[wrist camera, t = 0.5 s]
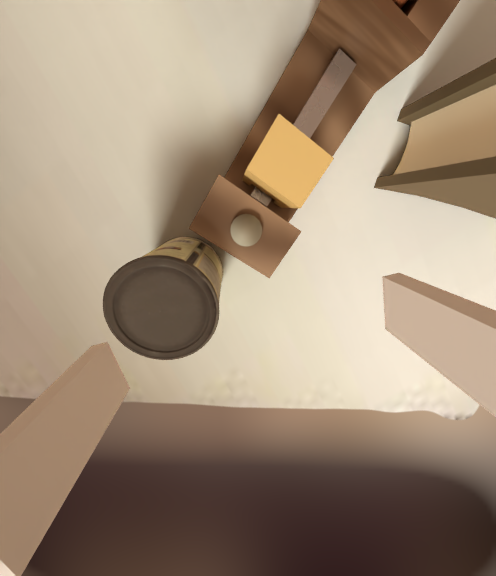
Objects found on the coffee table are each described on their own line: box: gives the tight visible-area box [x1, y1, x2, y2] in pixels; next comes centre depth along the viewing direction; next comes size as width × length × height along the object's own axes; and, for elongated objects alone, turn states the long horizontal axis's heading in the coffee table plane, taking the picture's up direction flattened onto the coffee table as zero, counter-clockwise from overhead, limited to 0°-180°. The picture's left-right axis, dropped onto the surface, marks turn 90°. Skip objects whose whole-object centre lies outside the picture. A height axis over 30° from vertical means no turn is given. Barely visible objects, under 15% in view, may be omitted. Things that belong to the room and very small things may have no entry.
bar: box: [250, 48, 356, 207], centre depth 28 cm, size 17×2×2 cm, turn 147°
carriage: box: [242, 114, 334, 208], centre depth 26 cm, size 5×6×9 cm
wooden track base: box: [189, 0, 460, 278], centre depth 26 cm, size 30×10×10 cm, turn 147°
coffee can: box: [103, 237, 223, 360], centre depth 29 cm, size 10×10×14 cm
